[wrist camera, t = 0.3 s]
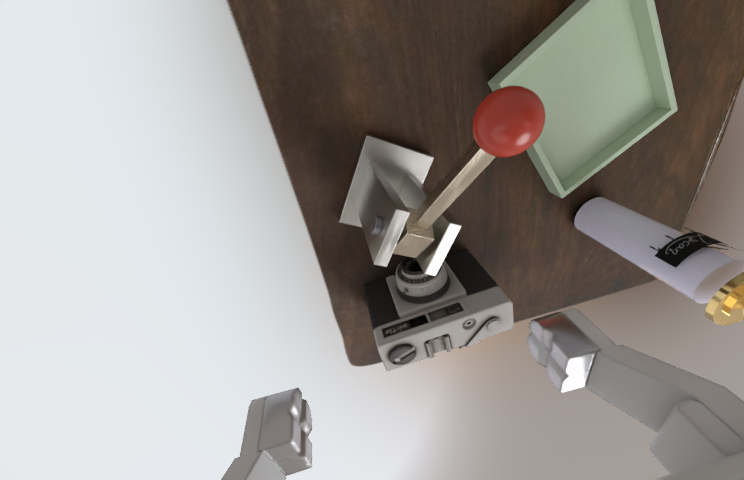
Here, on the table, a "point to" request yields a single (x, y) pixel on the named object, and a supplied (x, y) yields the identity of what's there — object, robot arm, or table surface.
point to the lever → (477, 158)
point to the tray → (593, 86)
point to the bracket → (393, 201)
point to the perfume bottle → (670, 256)
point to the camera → (435, 309)
